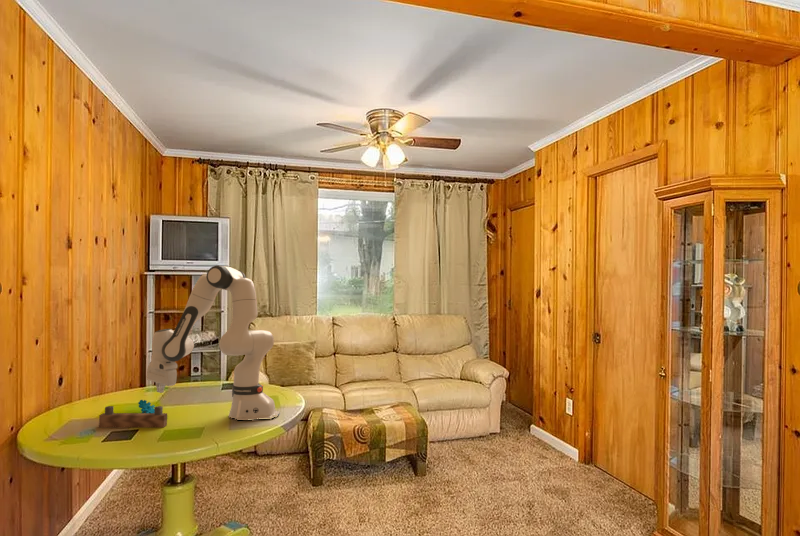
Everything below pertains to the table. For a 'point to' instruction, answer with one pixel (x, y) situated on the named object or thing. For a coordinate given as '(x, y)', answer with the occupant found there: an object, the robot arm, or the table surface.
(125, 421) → the stop bar
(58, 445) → the table surface
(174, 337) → the robot arm
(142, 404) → the gear
